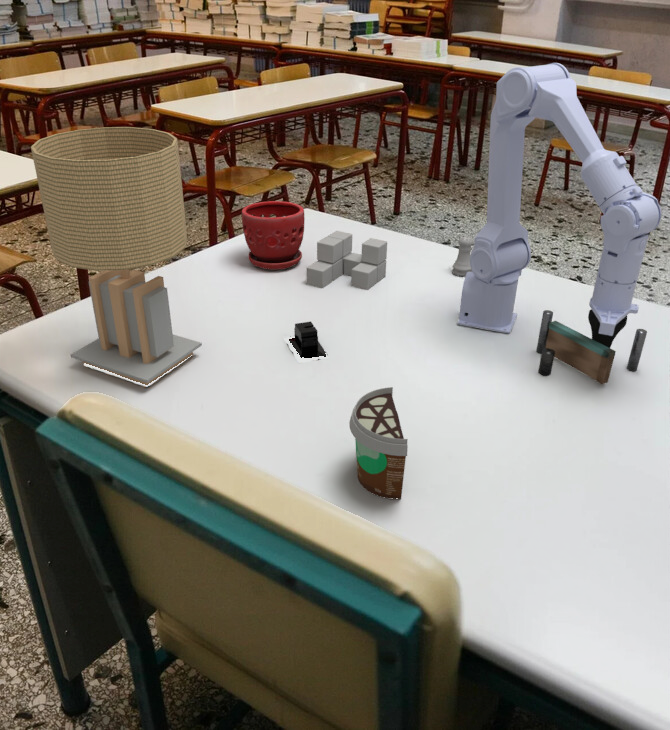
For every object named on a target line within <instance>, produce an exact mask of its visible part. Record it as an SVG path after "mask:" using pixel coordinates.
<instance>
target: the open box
mask: <svg viewBox="0 0 670 730" xmlns="http://www.w3.org/2000/svg"><path fill="white" fill-rule="evenodd" d="M546 348H549V349H553V350H554V351H555V355H554V359H557V360H558V361H560V362H562V363H564V364H566V365H568V366H570V367H571V368H573V369H575V370H577V371H578V372H579V373H582V374H583V375H586V376H588V377H589V378H590V379H592V380H594V381H595V382H596V383H599V384H600V385H605V384H607V383H608V382H609V380H610V379H609V378H610V376H611V371H612V368H613V365H614V359H615V356H616V352H617V351H616V350H614V349H612V348H611V347H610V348H608V347H606V346H605V345H603V344H601V343H599V342H597V341H595V340H593V339H592V337H588V336H586V335H585V334H582V333H581V332H579V331H578V330H577V331H576V330H575V329H573V328H571V327H569V326H567V325H565V324H564V323H561V322H560V321H557V320H553V321H552V322H550V324H549V333H548V338H547V344H546Z"/></svg>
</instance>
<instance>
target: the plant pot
mask: <svg viewBox="0 0 670 730" xmlns="http://www.w3.org/2000/svg"><path fill="white" fill-rule="evenodd" d="M271 215H274V217H273V216H272V217H271ZM262 216H263V217H262ZM305 219H306V218H305V209H304V208H303V206H302V205H300V204H298V203H294V202H289V201H280V200H275V201H274V200H271V201H260V202H256V203H251V204H249V205H246V206H244V207H243V208H242V210H241V220H242V221H241V224H242V230H243V235H244V240H245V242H246V245H247V248H248V249H249V252H248V255H247V257H248V258H247V259H248V261H249V262H250V263H251V264H252V265H254V266H255V267H257V268H261V269H265V270H273V271H274V270H287V269H289V268H291V267H294V266H295V265H298V263H299V262H300V261H301V260H302V257H303V253H302V251H301V250H300V247H301V246H302V243H303V240H304V232H305Z"/></svg>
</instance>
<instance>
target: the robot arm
mask: <svg viewBox="0 0 670 730" xmlns="http://www.w3.org/2000/svg"><path fill="white" fill-rule="evenodd" d="M577 93H578V92H577V83H576V81H575V80H574V79H573V78H572V77H571V76H570V72H569V70H568V69H567V68H566V67H565V65H563V64H561V63H558V62H552V63H547V64H543V65H534V66H532V65H531V66H526V67H524V66H523V67H522V66H515V67H513V68H511V69H509V70H508V71H507V72H506V73H505V74H504V75H502V77H501V78H500V79H498V81H497V82H496V95H495V96H496V97H495V102H494V105H493V107H492V109H491V110H492V111H491V112H490V123H489V125H490V126H489V148H488V149H489V151H488V176H487V177H488V179H487V180H488V181H487V182H488V183H487V201H486V202H487V203H486V205H487V206H486V208H487V209H486V223H485V225H484V226H483V227H482V228H481V229H480V230H479V231H478V232H477V234H476V235H475V236H474V240H473V242H474V243H473V248H472V250H471V252H470V266H471V269H472V271H473V272H467V274H466V276H465V277H464V279H463V284H462V291H461V298H460V307H459V314H458V315H459V316H458V321H457V324H458V325H459V326H460V325H461V326H465V327H471V328H477V329H482V330H486V331H487V330H488V331H491V332H497V333H503V334H511V332H512V329H513V326H514V323H515V321H516V318H517V316H518V314H517V313H516V312H514V310H515V309H514V308H515V303H516V296H517V289H518V284H519V283H518V282H519V277H521V276H522V272H523V270H524V269H526V268H527V267H528V266H529V264H530V262H531V258H532V252H531V251H532V250H531V246H530V243H529V231H528V229H526V227H524V226H523V225H522V224H521V223H520V222H521V206H522V204H521V201H522V185H523V171H524V153H525V151H524V150H525V149H524V148H525V135H526V134H525V133H526V127H527V126H528V125H529V124H530V123H532V122H533V121H534V120H535V119H536V118H537V119H541V120H545V121H549V122H553V124H554V125H555V127H556V128H557V129H558V131H559V132H560V133H561V135H562V137H564V139H565V141H566V142H567V144H568V145H569V146H570V148H571V149H572V150H573V152H574V153H575V155H576V156H577V157H578V159H579V160H580V161H581V163H582V166H581V169H580V173H579V174H580V178H581V180H582V182H583V183H584V184H585V186H586V188H587V190H588V191H589V193H590V194H591V196H592V198H593V199H594V201H595V203H596V204H597V206H598V207H599V209H600V210H601V212H602V214H603V215H601V216H600V226H601V231H602V232H603V242H602V245H603V248H602V252H601V257H600V259H599V260H600V261H599V264H598V269H597V274H596V279H595V281H594V282H595V283H594V287H593V292H592V296H591V297H590V299H589V302H588V303H589V307H590V310H588V317H587V318H588V323H589V325H590V331H591V339H593V340H595V341H597V342H599V343H601V344H603V345H605V346H606V347H608V348H610V349H611V348H612V347H611V346H612V344H613V342H614V340H615V339H616V337H617V335H618V334H619V333H620V332H621V331H622V330H623V329H624V328H625V327H626V326H627V322H628V315H629V314H634V315H636V314H638V313H639V309H640V308H639V307H640V306H639V305H638V304H635V303H633V298H634V294H635V291H636V287H637V284H638V283H637V282H638V281H639V280H638V279H639V275H640V273H641V272H640V271H641V268H642V264H643V260H644V255H645V252H646V247H647V243H648V239H649V236H650V235H649V233H651V232H653V231H654V230H656V229H657V228H658V227H659V225H660V223H661V220H662V209H661V206H660V204H659V200H658V199H657V198H656V197H655V196H654V195H652V194H650V193H647V192H644V191H643V189H642V187H640V186H639V185H637V183H636V181H635V179H634V178H633V176H632V175H631V174H630V173H631V172H629V170H628V169H627V167H626V165H627V161H626V159H625V157H624V156H623V155H619V154H618V152H616V151H613V150H607V149H605V148H604V146H603V144H602V142H601V140H600V138H599V137H598V135H597V132H596V130H595V128H594V127H593V125H592V123H591V121H590V119H589V117H588V115H587V114H586V111H585V108H583V106H582V104H581V102H580V99H579V98H578V96H577V95H578V94H577Z"/></svg>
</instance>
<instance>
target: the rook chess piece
mask: <svg viewBox="0 0 670 730" xmlns="http://www.w3.org/2000/svg"><path fill="white" fill-rule="evenodd" d="M457 242H458V244H459V246H458V247H457V249H458V254H457V258H456V260H455V261H454V263H453V264H452V269H451V271H452V274H453V275H455V276H457V277H460V278H461V277H462V278H465V276H466V274H467V272H473V271H472V269H471V266H470V255H471V252H472V250H473V248H472V245H474V240H473V236H471V235H467V234H464V235H460V236H459V239H458V240H457Z"/></svg>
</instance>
